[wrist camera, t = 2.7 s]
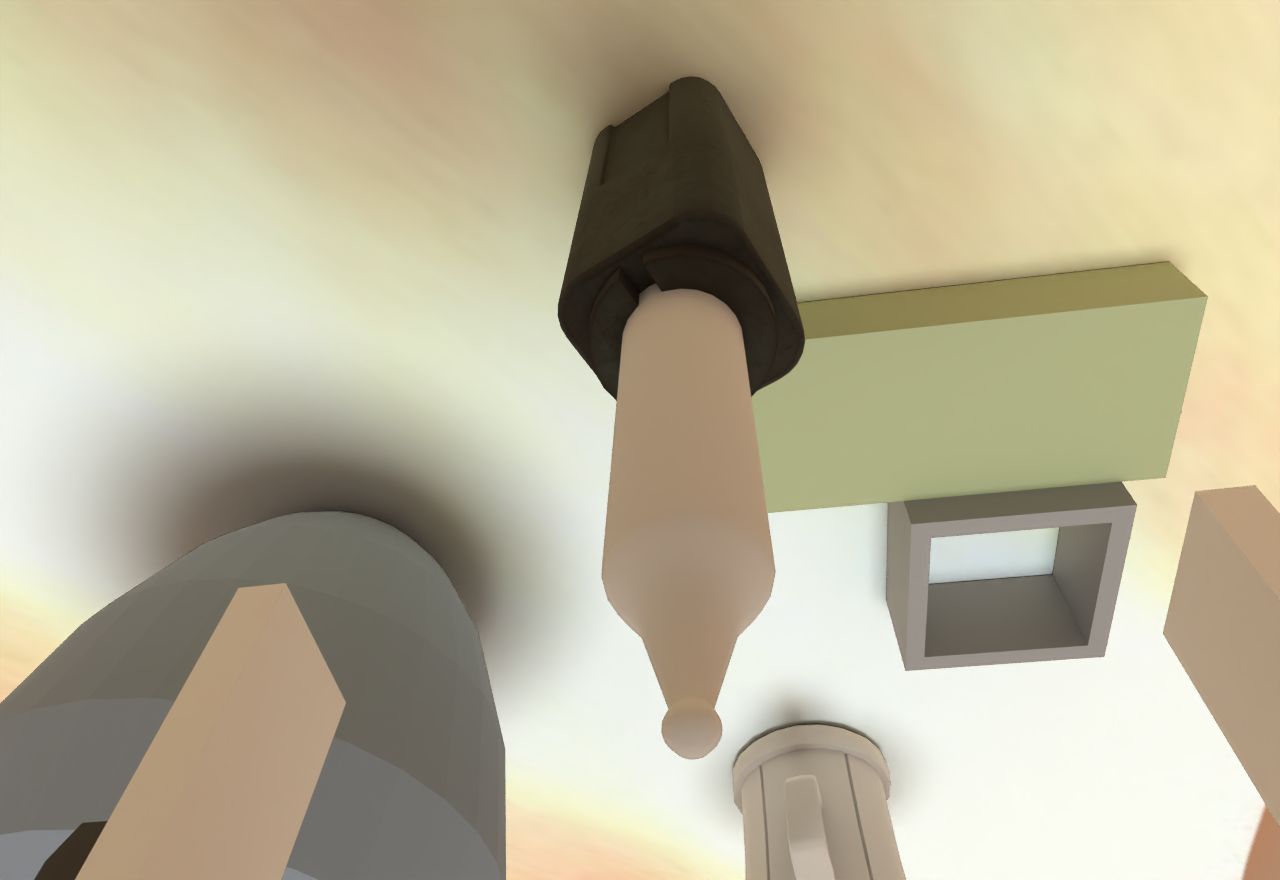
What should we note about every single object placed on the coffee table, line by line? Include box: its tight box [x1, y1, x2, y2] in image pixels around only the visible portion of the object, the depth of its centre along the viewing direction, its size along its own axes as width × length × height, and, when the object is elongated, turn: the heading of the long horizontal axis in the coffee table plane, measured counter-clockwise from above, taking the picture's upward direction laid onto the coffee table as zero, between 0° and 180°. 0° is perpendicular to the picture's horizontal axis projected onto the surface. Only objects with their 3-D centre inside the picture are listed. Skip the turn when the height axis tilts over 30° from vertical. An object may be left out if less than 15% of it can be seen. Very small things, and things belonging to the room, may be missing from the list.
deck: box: [751, 262, 1208, 671], centre depth 38 cm, size 18×17×4 cm
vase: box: [0, 511, 506, 880], centre depth 35 cm, size 20×20×24 cm
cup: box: [732, 724, 906, 880], centre depth 47 cm, size 10×9×12 cm
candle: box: [558, 77, 805, 759], centre depth 23 cm, size 5×5×25 cm
